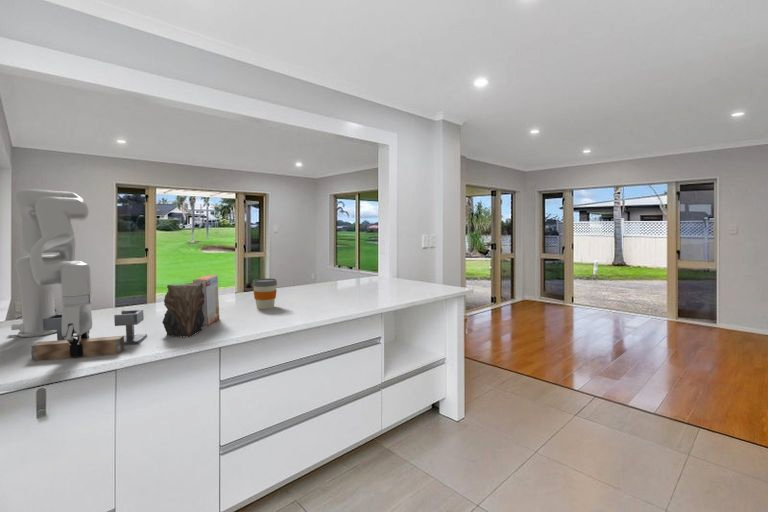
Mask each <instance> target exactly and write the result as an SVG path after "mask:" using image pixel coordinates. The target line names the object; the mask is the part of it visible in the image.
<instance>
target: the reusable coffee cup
mask: <svg viewBox="0 0 768 512" xmlns="http://www.w3.org/2000/svg"><path fill="white" fill-rule="evenodd" d="M277 285H278V282H277V278H256V279H253V280H252V287H253V297H254V300H255V304H256V308H257V309H259V310H267V309H270V310H271V309H273V308H275V301H276V298H277V291H278V289H277Z"/></svg>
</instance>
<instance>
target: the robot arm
mask: <svg viewBox="0 0 768 512" xmlns="http://www.w3.org/2000/svg"><path fill="white" fill-rule="evenodd" d="M13 199H14V205H15V207H16V209H17V211H18V212H19V216H20V218H21V234H20V236H21V239H20V240H21V242H20V243H21V248H22V249H23V251H24V252H26V253H29V255H25V256H22V257H19V258H18V259H17V260H16V261H15V270H16V275H17V278H18V282H19V287H20V289H19V291H20V301H21V303H20V304H21V316H22V317H21V318H22V323H18V324H17V323H16V324H11V326H10V327H11V331H17V330H18V333H17V336H18V337H20V338H30V337H32V338H33V337H40V336H46V335H52V334H55V333H57V330H48V331H43V319H45V318H47V317H50V316H52V315H55V314H56V313H55V312H56V309H55V295H54V288H53V287H52V285H61V287H60V288H61V306H62V310H61V311H62V312H61V314H62V336H63V337H66V336H67V337H66V340H67V341H68V342H69V346H70V357H72V358H81V357H80V356H82V355H83V348H82V344H81V339H86V338H90V331H91V330H92V328H93V315H92V308H91V305H92V304H93V300H92V280H91V279H92V278H91V266H90V265H89V264H88V263H85V262H84V261H81V260H76V237H75V232H74V229H73V224H72V222H71V221H74V222H75V221H76V222H77V221H79V222H80V221H85V220H86V219H87V218H88V216H89V208H88V205H87V203H86V201H85V199H83V198H82V197H81V196H80V195H78V194H76V193H75V192H72V191H64V190H63V191H61V190H52V189H51V190H49V189H39V188H38V189H36V188H25V189H24V188H21V189H18V190H16V191H15V192H14V196H13ZM49 253H50V254H49ZM51 253H54V254H51ZM55 253H56V254H55ZM74 334H75V335H74Z"/></svg>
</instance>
